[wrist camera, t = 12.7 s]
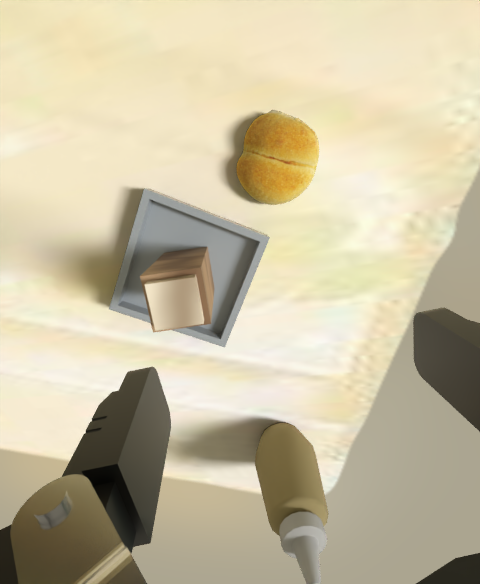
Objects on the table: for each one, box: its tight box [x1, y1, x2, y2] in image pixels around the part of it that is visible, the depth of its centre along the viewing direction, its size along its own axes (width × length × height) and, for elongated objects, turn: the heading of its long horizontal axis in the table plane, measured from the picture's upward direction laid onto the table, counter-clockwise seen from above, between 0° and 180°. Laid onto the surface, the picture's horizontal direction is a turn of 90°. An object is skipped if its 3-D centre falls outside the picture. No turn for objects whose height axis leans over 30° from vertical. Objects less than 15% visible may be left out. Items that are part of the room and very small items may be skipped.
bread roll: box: [236, 110, 319, 205], centre depth 33 cm, size 8×9×4 cm
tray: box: [109, 188, 270, 347], centre depth 37 cm, size 14×14×2 cm
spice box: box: [140, 247, 215, 332], centre depth 32 cm, size 5×5×12 cm
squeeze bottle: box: [255, 423, 328, 584], centre depth 37 cm, size 8×8×18 cm
